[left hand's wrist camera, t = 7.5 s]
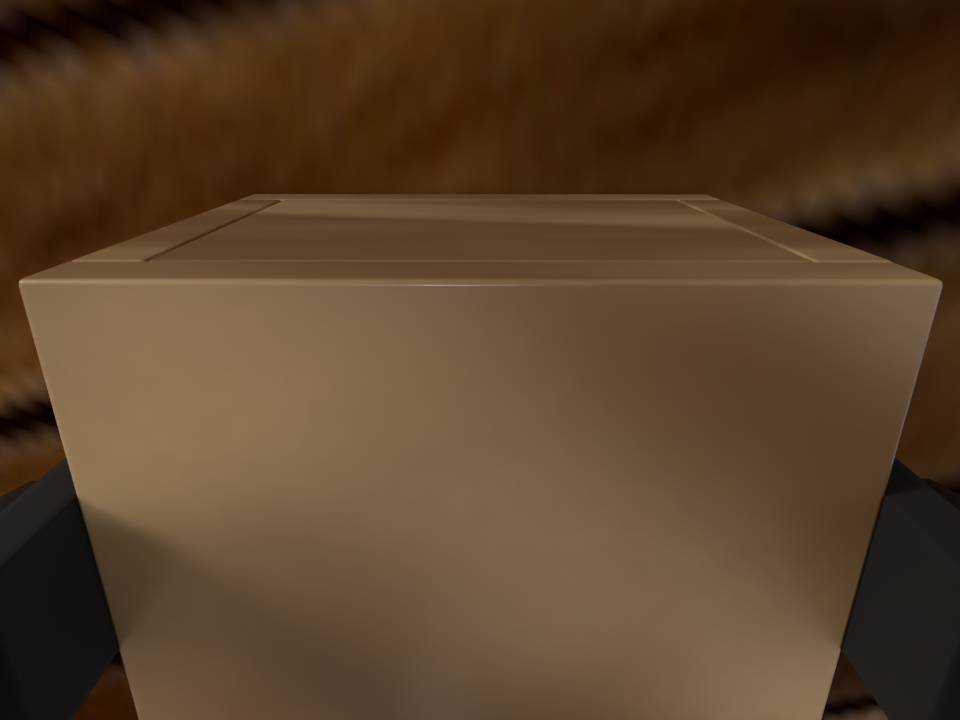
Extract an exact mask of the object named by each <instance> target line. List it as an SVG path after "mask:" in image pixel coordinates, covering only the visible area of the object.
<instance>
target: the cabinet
mask: <svg viewBox="0 0 960 720" xmlns="http://www.w3.org/2000/svg"><path fill="white" fill-rule="evenodd" d="M942 287H943V285H942V281H941V280H939V279H936V278H934V277H931V276H928V275H926V274H923V273H920V272H917V271H914V270H912V269H909V268H906V267H903V266H901V265H898V264H895V263H892V262H891V261H889V260H886V259H884V258H881V257H878V256H875V255H873V254H870V253H867V252H864V251H862V250H859V249H856V248H853V247H850V246H848V245H845V244H842V243H839V242H837V241H834V240H831V239H828V238H826V237H823V236H820V235H817V234H814V233H812V232H809V231H806V230H803V229H801V228H798V227H795V226H792V225H790V224H787V223H784V222H781V221H778V220H776V219H773V218H770V217H767V216H765V215H762V214H759V213H756V212H754V211H751V210H748V209H745V208H743V207H740V206H737V205H734V204H731V203H729V202H726V201H723V200H719V199H717V198H714V197H711V196H708V195H651V194H254V195H251V196H248V197H245V198H243V199H240V200H237V201H235V202H232V203H229V204H226V205H224V206H221V207H218V208H215V209H213V210H210V211H207V212H204V213H201V214H199V215H196V216H193V217H190V218H188V219H185V220H182V221H179V222H177V223H174V224H171V225H168V226H166V227H163V228H160V229H157V230H155V231H152V232H149V233H146V234H144V235H141V236H138V237H135V238H133V239H130V240H127V241H124V242H121V243H119V244H116V245H113V246H110V247H108V248H105V249H102V250H99V251H97V252H94V253H91V254H88V255H86V256H83V257H80V258H77V259H75V260H73V261H72V262H66V263H64V264H61V265H58V266H55V267H53V268H50V269H47V270H44V271H42V272H39V273H36V274H33V275H31V276H28V277H25V278H23V279H21V280H20V281H19V288H20V291H21V295H22V299H23V302H24V306H25V310H26V313H27V317H28V320H29V324H30V328H31V331H32V335H33V338H34V342H35V346H36V349H37V353H38V356H39V360H40V364H41V367H42V371H43V375H44V378H45V382H46V385H47V389H48V393H49V396H50V400H51V403H52V407H53V411H54V414H55V418H56V421H57V425H58V429H59V432H60V436H61V440H62V443H63V447H64V450H65V454H66V458H67V461H68V465H69V468H70V472H71V476H72V479H73V483H74V487H75V490H76V494H77V497H78V501H79V505H80V508H81V512H82V515H83V519H84V523H85V526H86V530H87V533H88V537H89V541H90V544H91V548H92V552H93V555H94V559H95V562H96V566H97V570H98V573H99V577H100V580H101V584H102V588H103V591H104V595H105V599H106V602H107V606H108V609H109V613H110V617H111V620H112V624H113V627H114V631H115V635H116V638H117V642H118V645H119V649H120V653H121V656H122V660H123V664H124V667H125V671H126V674H127V678H128V682H129V685H130V689H131V692H132V696H133V700H134V703H135V707H136V710H137V714H138V718H139V720H821V719H822V715H823V712H824V708H825V704H826V701H827V697H828V694H829V690H830V687H831V683H832V679H833V676H834V672H835V669H836V665H837V662H838V658H839V654H840V651H841V647H842V644H843V640H844V637H845V633H846V629H847V626H848V622H849V619H850V615H851V612H852V608H853V604H854V601H855V597H856V594H857V590H858V587H859V583H860V579H861V576H862V572H863V569H864V565H865V562H866V558H867V554H868V551H869V547H870V544H871V540H872V537H873V533H874V529H875V526H876V522H877V519H878V515H879V512H880V508H881V504H882V501H883V497H884V494H885V490H886V487H887V483H888V479H889V476H890V472H891V469H892V465H893V462H894V458H895V455H896V451H897V447H898V444H899V440H900V437H901V433H902V430H903V426H904V422H905V419H906V415H907V412H908V408H909V405H910V401H911V397H912V394H913V390H914V387H915V383H916V380H917V376H918V372H919V369H920V365H921V362H922V358H923V355H924V351H925V347H926V344H927V340H928V337H929V333H930V330H931V326H932V322H933V319H934V315H935V312H936V308H937V305H938V301H939V297H940V294H941V290H942Z"/></svg>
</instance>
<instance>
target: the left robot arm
mask: <svg viewBox="0 0 960 720" xmlns="http://www.w3.org/2000/svg"><path fill="white" fill-rule="evenodd" d="M841 649H842V651H843V652H844V654H845V655H846V657H847V658H848V660H849V661H850V663H851V664H852V666H853V667H854V669H855V670H856V672H857V673H858V675H859V676H860V678H861V679H862V681H863V682H864V684H865V685H866V687H867V688H868V690H869V691H870V692H871V694H872V695H873V697H874V698H875V700H876V701H877V703H878V704H879V706H880V707H881V709H882V710H883V712H884V713H885V715H886V716H887V718H888V719H889V720H960V494H958V493H956V492H954V491H952V490H951V489H949V488H947V487H945V486H943V485H941V484H939V483H937V482H935V481H933V480H931V479H920V478H919V477H918V476H917V475H915V474H914V473H913V472H912V471H911V470H909V469H908V468H907V467H906V466H905V465H903V464H902V463H901V462H900V461H898V460H897V459H896V458H894V462H893V465H892V469H891V472H890V476H889V479H888V483H887V487H886V490H885V494H884V497H883V501H882V504H881V508H880V512H879V515H878V519H877V522H876V526H875V529H874V533H873V537H872V540H871V544H870V547H869V551H868V554H867V558H866V562H865V565H864V569H863V572H862V576H861V579H860V583H859V587H858V590H857V594H856V597H855V601H854V604H853V608H852V612H851V615H850V619H849V622H848V626H847V629H846V633H845V637H844V640H843V644H842V647H841ZM118 650H119V645H118V642H117V638H116V635H115V631H114V627H113V624H112V620H111V617H110V613H109V609H108V606H107V602H106V599H105V595H104V591H103V588H102V584H101V580H100V577H99V573H98V570H97V566H96V562H95V559H94V555H93V552H92V548H91V544H90V541H89V537H88V533H87V530H86V526H85V523H84V519H83V515H82V512H81V508H80V505H79V501H78V497H77V494H76V490H75V487H74V483H73V479H72V476H71V472H70V468H69V465H68V461H67V458H65V459H63V460H62V461H61V462H60V463H59V464H57V465H56V466H55V467H54V468H53V469H51V470H50V471H49V472H48V473H47V474H45V475H44V476H43V477H42V478H41V479H39V480H38V481H31V482H29V483H27V484H25V485H23V486H21V487H19V488H17V489H15V490H13V491H11V492H9V493H7V494H5V495H3V496H2V497H0V720H72V719H73V717H74V716H75V714H76V713H77V711H78V710H79V708H80V707H81V705H82V704H83V702H84V701H85V699H86V698H87V696H88V695H89V694H90V692H91V691H92V689H93V688H94V686H95V685H96V683H97V682H98V680H99V679H100V677H101V676H102V674H103V673H104V671H105V670H106V668H107V667H108V665H109V664H110V662H111V661H112V659H113V658H114V656H115V655H116V653H117V652H118Z"/></svg>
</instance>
